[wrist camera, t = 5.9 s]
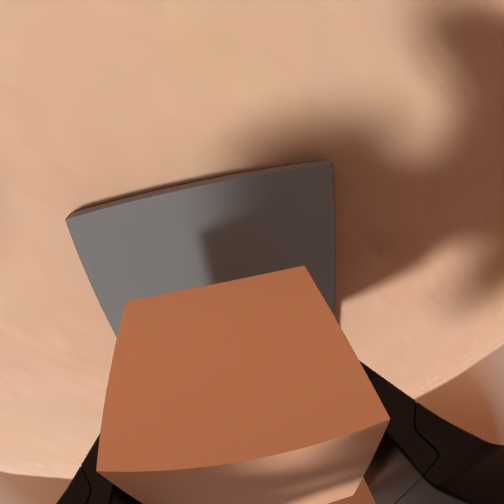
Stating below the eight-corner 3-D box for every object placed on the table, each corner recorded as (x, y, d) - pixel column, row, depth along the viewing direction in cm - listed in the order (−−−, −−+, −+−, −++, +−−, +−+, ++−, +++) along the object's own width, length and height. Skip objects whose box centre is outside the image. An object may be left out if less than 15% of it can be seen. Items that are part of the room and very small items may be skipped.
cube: (304, 265, 9) (390, 419, 4) (308, 377, 11) (353, 494, 7) (125, 301, 8) (96, 470, 4) (176, 403, 11) (184, 527, 6)
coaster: (325, 159, 10) (332, 163, 10) (328, 345, 15) (332, 354, 14) (71, 212, 10) (65, 219, 9) (148, 382, 14) (148, 391, 14)
